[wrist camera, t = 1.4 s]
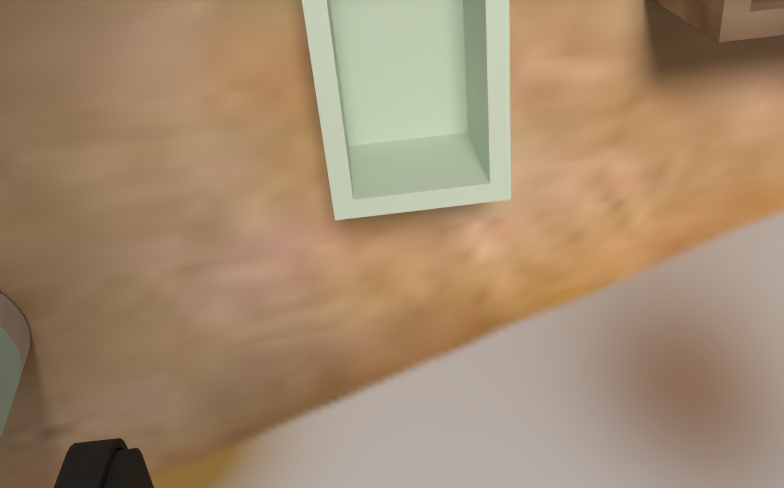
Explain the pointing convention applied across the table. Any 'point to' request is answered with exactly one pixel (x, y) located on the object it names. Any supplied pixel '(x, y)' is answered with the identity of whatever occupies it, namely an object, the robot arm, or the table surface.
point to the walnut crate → (731, 17)
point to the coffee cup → (11, 354)
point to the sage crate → (412, 102)
